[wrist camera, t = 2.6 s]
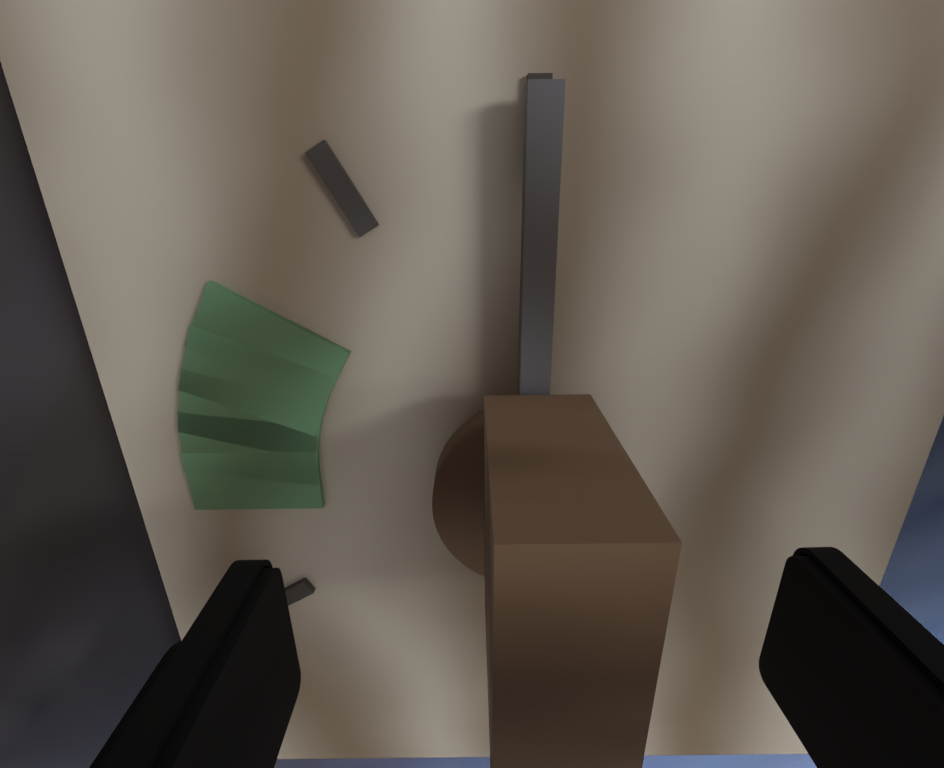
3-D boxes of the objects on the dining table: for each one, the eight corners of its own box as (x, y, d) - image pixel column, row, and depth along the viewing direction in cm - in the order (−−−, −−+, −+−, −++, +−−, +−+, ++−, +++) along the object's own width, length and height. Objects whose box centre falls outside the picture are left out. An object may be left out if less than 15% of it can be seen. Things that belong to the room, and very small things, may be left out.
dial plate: (1043, -50, 10) (1147, -96, 9) (790, 712, 19) (820, 759, 17) (28, -34, 10) (-52, -78, 9) (237, 718, 19) (215, 766, 17)
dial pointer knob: (611, 572, 14) (706, 824, 8) (438, 573, 14) (417, 827, 8) (667, 84, 9) (955, -85, 4) (416, 88, 9) (336, -76, 4)
